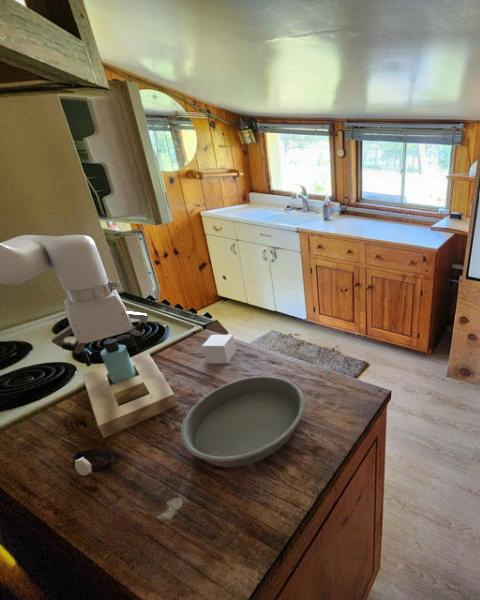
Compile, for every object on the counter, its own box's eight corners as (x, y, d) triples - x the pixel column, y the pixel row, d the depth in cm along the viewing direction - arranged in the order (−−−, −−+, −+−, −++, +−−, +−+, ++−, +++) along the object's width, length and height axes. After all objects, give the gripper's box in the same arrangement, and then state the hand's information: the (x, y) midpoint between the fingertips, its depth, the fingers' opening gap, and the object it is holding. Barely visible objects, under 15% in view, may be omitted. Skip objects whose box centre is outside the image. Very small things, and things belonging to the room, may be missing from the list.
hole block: (103, 438, 69) (97, 425, 67) (87, 385, 83) (82, 374, 81) (178, 405, 78) (174, 394, 76) (151, 363, 92) (148, 352, 91)
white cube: (206, 363, 93) (201, 345, 91) (215, 351, 98) (211, 334, 96) (227, 363, 93) (223, 345, 91) (236, 351, 99) (232, 334, 96)
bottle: (117, 394, 80) (98, 349, 75) (113, 385, 83) (95, 341, 77) (141, 385, 83) (124, 341, 78) (136, 377, 86) (120, 333, 81)
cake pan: (162, 482, 60) (155, 466, 58) (211, 393, 82) (207, 378, 80) (298, 468, 64) (296, 452, 62) (310, 386, 86) (309, 372, 84)
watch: (66, 471, 61) (59, 458, 60) (93, 451, 66) (86, 438, 64) (99, 481, 60) (92, 467, 58) (124, 459, 64) (118, 446, 63)
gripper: (133, 278, 80) (152, 337, 87) (32, 297, 69) (64, 363, 76) (140, 286, 76) (160, 348, 83) (34, 308, 64) (67, 378, 71)
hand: (114, 355), depth 79 cm, fingers open, 9 cm apart
